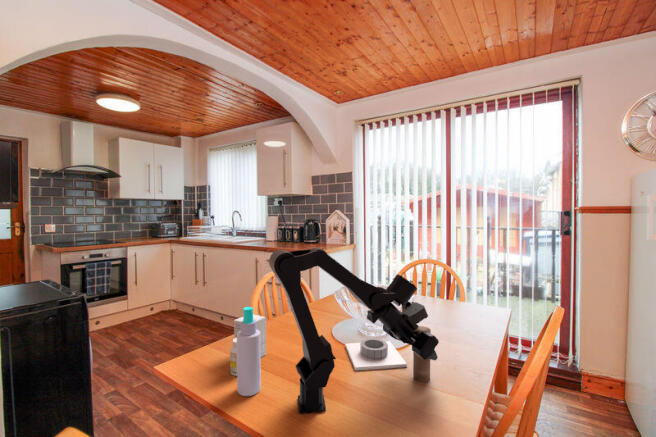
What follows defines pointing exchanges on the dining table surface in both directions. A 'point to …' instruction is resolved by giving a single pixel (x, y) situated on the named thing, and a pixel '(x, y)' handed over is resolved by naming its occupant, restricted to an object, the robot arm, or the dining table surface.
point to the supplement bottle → (233, 358)
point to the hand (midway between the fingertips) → (425, 351)
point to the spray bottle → (248, 356)
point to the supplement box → (259, 326)
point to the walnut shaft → (421, 362)
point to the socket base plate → (374, 355)
